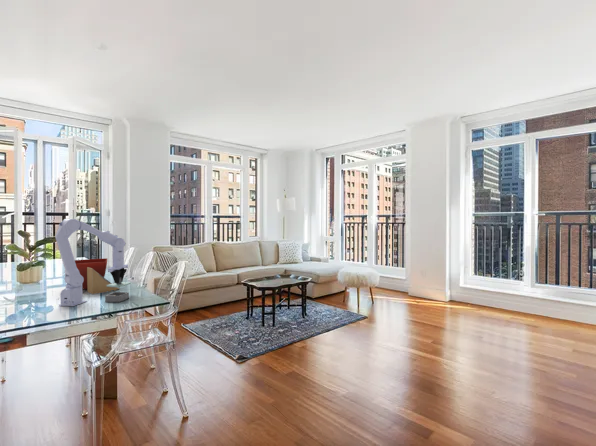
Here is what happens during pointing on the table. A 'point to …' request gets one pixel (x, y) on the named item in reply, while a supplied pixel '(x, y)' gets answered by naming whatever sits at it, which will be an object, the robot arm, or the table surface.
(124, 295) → the box
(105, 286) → the sandwich container
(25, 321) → the table surface
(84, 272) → the plant pot
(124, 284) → the lid
